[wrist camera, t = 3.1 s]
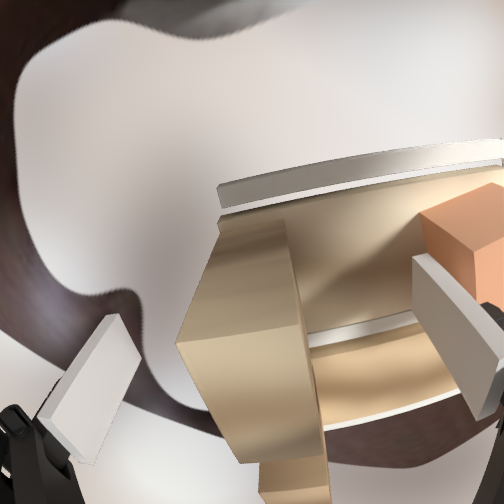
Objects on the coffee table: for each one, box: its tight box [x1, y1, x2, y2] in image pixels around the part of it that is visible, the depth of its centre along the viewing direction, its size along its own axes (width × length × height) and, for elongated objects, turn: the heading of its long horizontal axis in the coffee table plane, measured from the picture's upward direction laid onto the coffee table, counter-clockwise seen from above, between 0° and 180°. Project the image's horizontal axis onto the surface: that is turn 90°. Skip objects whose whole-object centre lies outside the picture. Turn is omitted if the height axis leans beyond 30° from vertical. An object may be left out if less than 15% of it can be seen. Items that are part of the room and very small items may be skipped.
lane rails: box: [217, 138, 504, 431], centre depth 17 cm, size 19×18×1 cm
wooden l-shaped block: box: [258, 322, 458, 504], centre depth 15 cm, size 7×16×9 cm, turn 104°
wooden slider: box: [175, 165, 504, 464], centre depth 12 cm, size 7×16×9 cm, turn 104°
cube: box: [419, 182, 504, 312], centre depth 12 cm, size 5×5×5 cm
